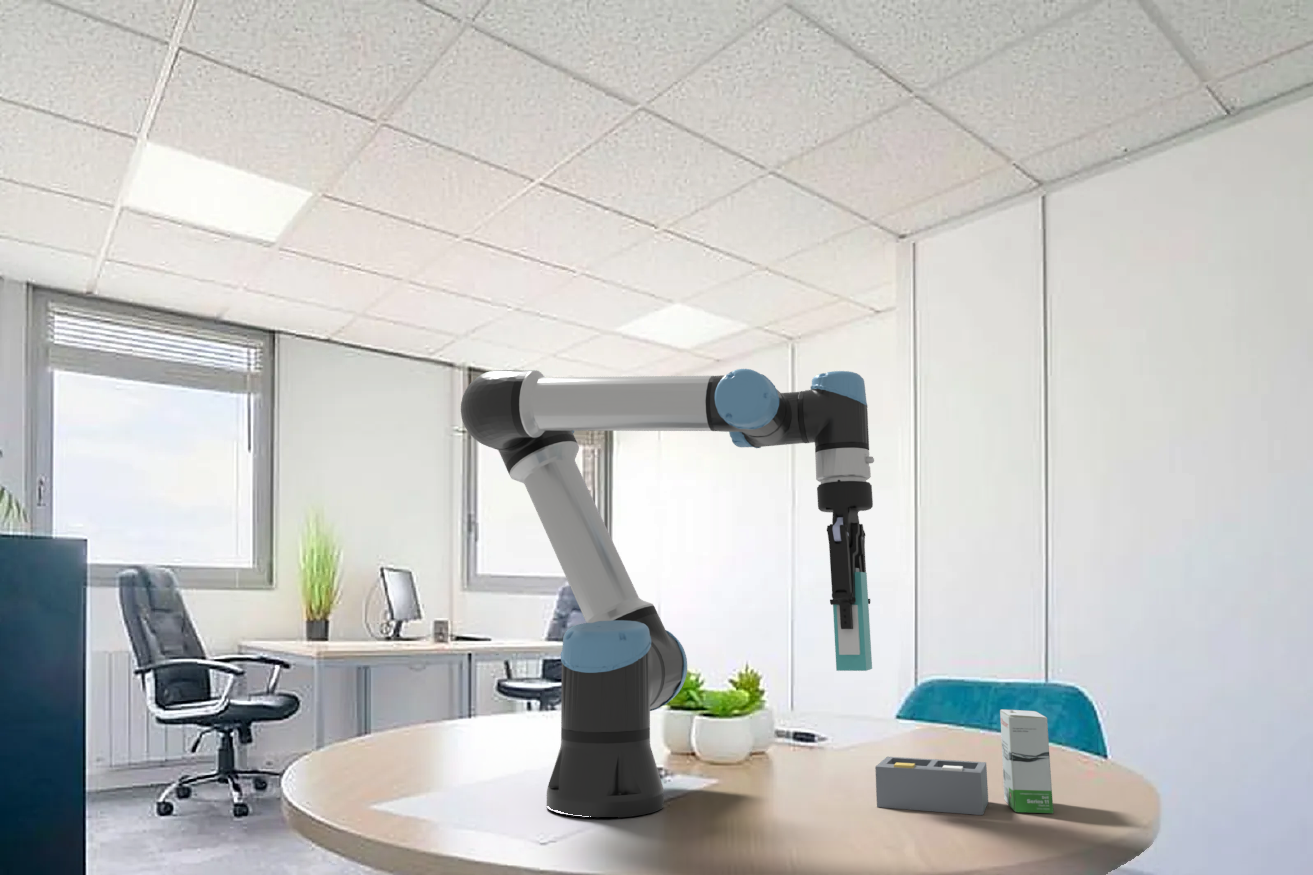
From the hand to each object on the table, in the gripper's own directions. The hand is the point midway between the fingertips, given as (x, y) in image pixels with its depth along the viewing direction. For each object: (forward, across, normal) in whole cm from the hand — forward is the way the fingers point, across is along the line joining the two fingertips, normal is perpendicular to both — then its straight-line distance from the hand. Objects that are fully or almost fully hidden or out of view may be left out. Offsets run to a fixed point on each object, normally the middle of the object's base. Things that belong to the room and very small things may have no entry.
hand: (853, 653), depth 133 cm
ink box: (+20, +5, -20) cm, 29 cm away
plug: (+2, 0, 0) cm, 2 cm away
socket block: (+19, +2, -9) cm, 21 cm away
